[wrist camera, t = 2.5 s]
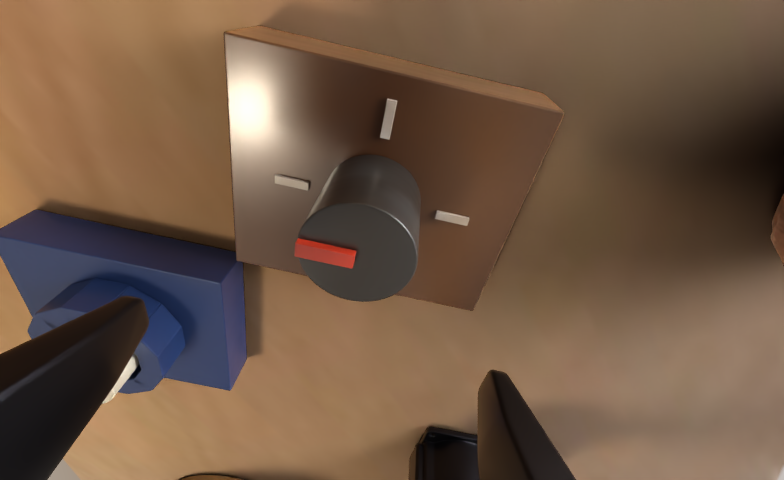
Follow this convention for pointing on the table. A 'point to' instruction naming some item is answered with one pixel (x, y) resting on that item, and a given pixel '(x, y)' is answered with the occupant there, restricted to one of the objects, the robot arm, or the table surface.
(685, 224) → the table surface
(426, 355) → the table surface
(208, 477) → the wooden container
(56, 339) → the robot arm
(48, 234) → the button housing
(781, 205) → the decorative rock
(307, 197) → the dial panel
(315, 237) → the dial
